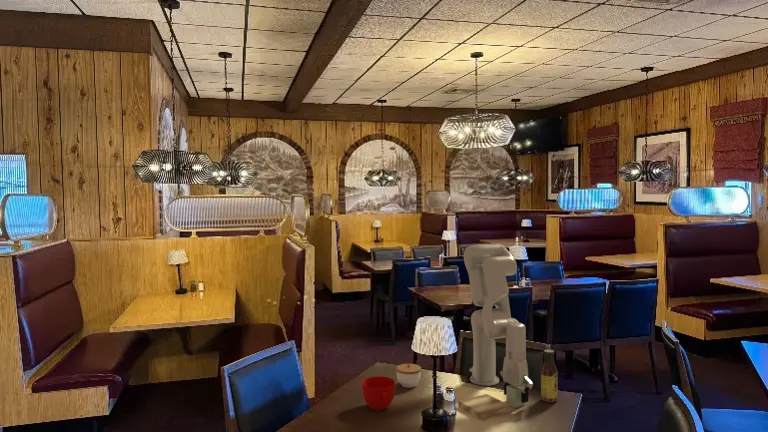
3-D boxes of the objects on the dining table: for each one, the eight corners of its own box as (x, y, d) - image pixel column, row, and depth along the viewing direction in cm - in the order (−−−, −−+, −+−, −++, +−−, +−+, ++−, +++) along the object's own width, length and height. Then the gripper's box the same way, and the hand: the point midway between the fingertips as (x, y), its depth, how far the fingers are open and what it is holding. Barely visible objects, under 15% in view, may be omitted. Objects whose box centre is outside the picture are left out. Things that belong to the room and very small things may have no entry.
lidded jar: (423, 382, 241) (423, 360, 240) (418, 390, 231) (418, 368, 230) (399, 379, 244) (399, 359, 243) (393, 388, 234) (393, 366, 233)
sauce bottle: (558, 403, 215) (558, 353, 214) (541, 402, 216) (541, 353, 215) (556, 397, 222) (556, 349, 220) (540, 396, 223) (540, 348, 222)
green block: (506, 403, 217) (506, 385, 216) (516, 400, 219) (516, 383, 219) (515, 407, 212) (515, 389, 212) (525, 405, 215) (525, 387, 214)
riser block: (458, 408, 213) (458, 400, 213) (486, 401, 220) (486, 393, 220) (482, 421, 201) (482, 413, 201) (511, 413, 208) (511, 405, 208)
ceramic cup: (369, 420, 202) (368, 393, 202) (359, 402, 218) (358, 378, 218) (402, 415, 206) (402, 389, 205) (390, 399, 222) (390, 374, 221)
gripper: (493, 351, 220) (493, 393, 221) (524, 362, 205) (524, 407, 206) (507, 348, 224) (508, 389, 225) (539, 359, 209) (539, 403, 210)
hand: (516, 398), depth 215 cm, fingers open, 9 cm apart
